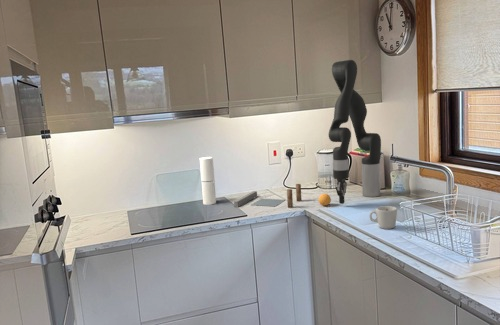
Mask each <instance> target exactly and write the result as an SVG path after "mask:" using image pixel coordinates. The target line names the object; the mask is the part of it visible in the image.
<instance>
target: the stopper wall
mask: <svg viewBox="0 0 500 325" xmlns="http://www.w3.org/2000/svg"><path fill="white" fill-rule="evenodd" d="M257 197H258V191H255V190H253V191H251V192H250V193H248V194H245V195H244V196H242V197H240V198H238V199H236V200H234V201H233V205H234V208H240V207H241V206H242V205H243V206H244V205H245V204H246V203H248V202H250V201H251V200H252V201H253V199H256V198H257Z"/></svg>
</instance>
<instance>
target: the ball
mask: <svg viewBox="0 0 500 325" xmlns="http://www.w3.org/2000/svg"><path fill="white" fill-rule="evenodd" d="M331 199H332V198H331V196H330V195H329V194H328V193H322V194H320V196H319V197H318V203H319V204H320V205H321V206H324V207H325V206H328V205H329V206H330V204H331V201H332V200H331Z"/></svg>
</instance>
